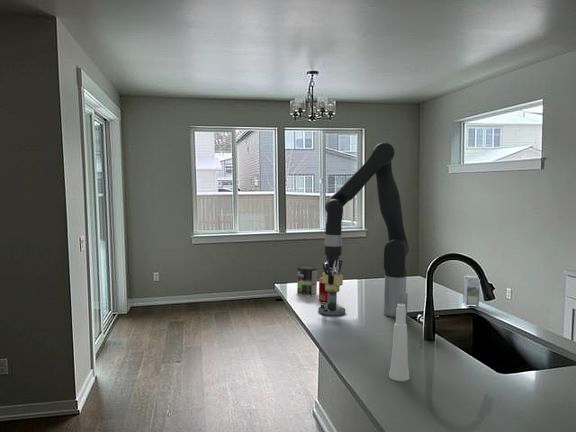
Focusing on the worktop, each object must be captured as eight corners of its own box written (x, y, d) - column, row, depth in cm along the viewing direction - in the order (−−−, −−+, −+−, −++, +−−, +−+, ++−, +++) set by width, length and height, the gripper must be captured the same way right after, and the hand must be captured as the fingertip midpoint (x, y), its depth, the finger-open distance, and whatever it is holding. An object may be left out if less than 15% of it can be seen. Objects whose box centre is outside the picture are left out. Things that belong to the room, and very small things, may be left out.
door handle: (344, 290, 205) (345, 274, 205) (337, 293, 200) (337, 276, 199) (324, 287, 211) (325, 271, 211) (316, 289, 206) (317, 273, 206)
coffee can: (302, 297, 233) (303, 269, 232) (293, 292, 242) (294, 265, 241) (320, 295, 237) (321, 267, 236) (311, 290, 246) (311, 264, 245)
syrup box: (475, 304, 223) (476, 274, 222) (478, 307, 217) (480, 277, 216) (462, 303, 223) (464, 274, 222) (466, 307, 218) (467, 276, 216)
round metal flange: (350, 311, 207) (350, 290, 206) (336, 317, 198) (336, 296, 197) (327, 307, 214) (328, 286, 214) (313, 312, 205) (313, 291, 204)
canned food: (335, 303, 221) (336, 280, 220) (319, 303, 221) (319, 280, 221) (334, 299, 229) (335, 277, 228) (318, 299, 229) (318, 277, 228)
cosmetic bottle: (394, 371, 142) (396, 300, 141) (412, 376, 139) (415, 304, 137) (384, 377, 138) (387, 304, 136) (403, 383, 134) (406, 308, 132)
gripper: (332, 247, 196) (331, 287, 197) (348, 243, 207) (347, 282, 208) (317, 245, 201) (316, 284, 202) (334, 242, 212) (333, 279, 213)
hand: (332, 283), depth 205 cm, fingers closed on door handle, 2 cm apart
